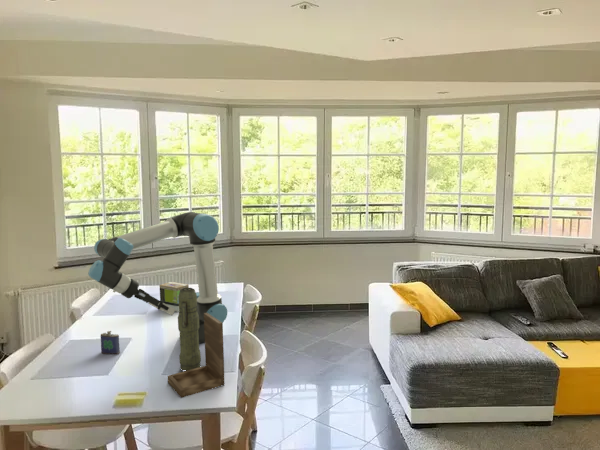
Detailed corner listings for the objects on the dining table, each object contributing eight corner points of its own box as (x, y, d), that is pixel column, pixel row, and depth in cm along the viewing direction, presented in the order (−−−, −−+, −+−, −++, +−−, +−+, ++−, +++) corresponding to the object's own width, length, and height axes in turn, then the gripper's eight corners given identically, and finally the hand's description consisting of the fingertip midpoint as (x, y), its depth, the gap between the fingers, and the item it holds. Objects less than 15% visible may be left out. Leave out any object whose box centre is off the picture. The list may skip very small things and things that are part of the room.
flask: (121, 352, 226) (119, 330, 224) (117, 355, 223) (115, 333, 221) (103, 351, 228) (101, 329, 226) (99, 353, 225) (98, 331, 223)
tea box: (190, 308, 291) (189, 284, 288) (177, 312, 282) (176, 288, 280) (172, 304, 298) (171, 280, 296) (159, 308, 290) (158, 284, 288)
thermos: (203, 361, 216) (200, 285, 210) (198, 373, 204) (195, 292, 199) (183, 361, 215) (179, 285, 210) (177, 373, 204) (173, 293, 198)
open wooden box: (209, 371, 205) (207, 312, 202) (224, 385, 193) (222, 322, 189) (167, 382, 195) (164, 321, 192) (181, 398, 183) (178, 332, 179)
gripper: (112, 290, 207) (153, 313, 218) (129, 298, 187) (173, 322, 197) (122, 275, 210) (162, 298, 220) (140, 281, 189) (183, 306, 200)
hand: (167, 310), depth 209 cm, fingers open, 13 cm apart
